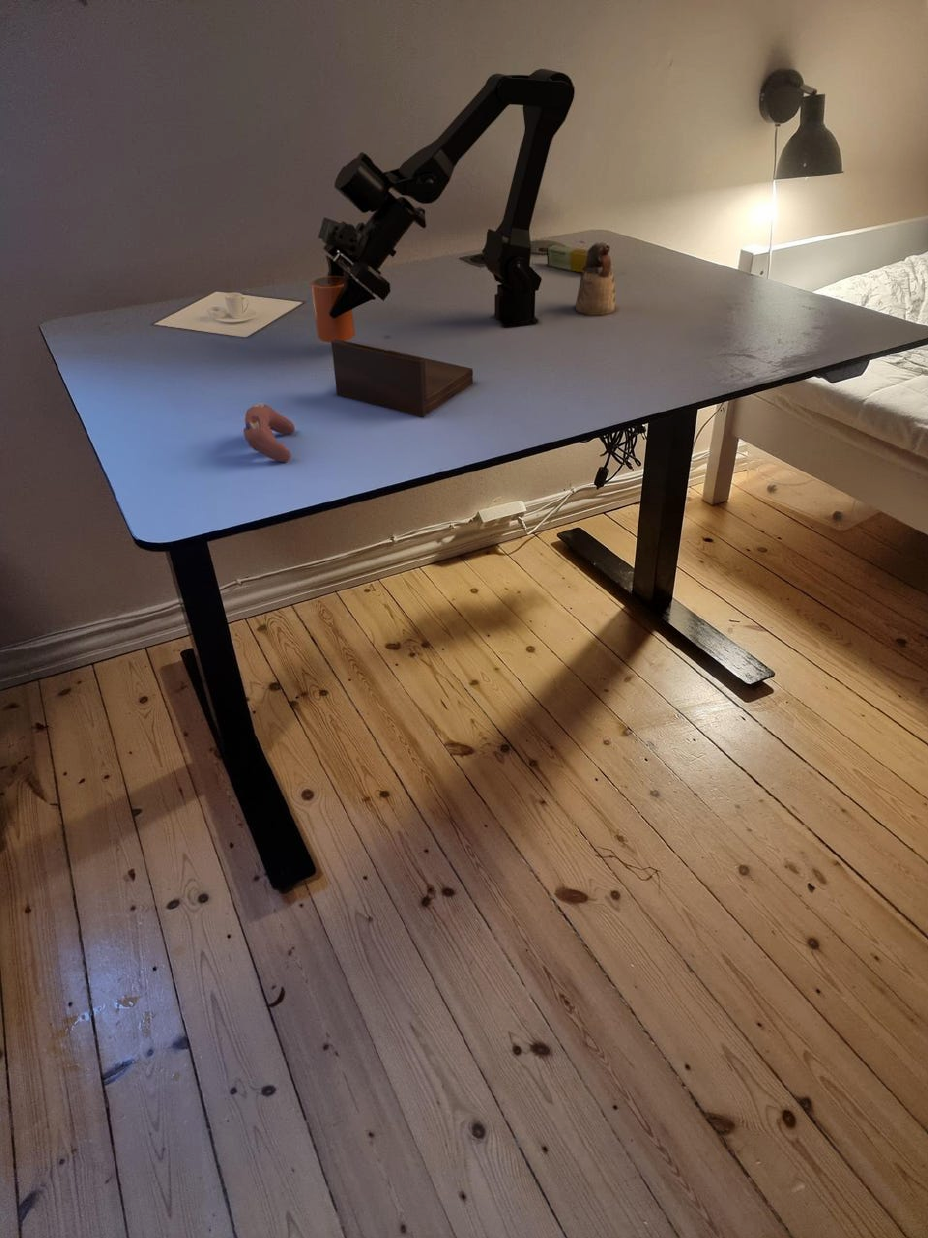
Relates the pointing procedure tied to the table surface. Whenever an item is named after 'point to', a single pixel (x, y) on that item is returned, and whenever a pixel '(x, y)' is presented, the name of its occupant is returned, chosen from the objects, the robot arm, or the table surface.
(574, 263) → the medication box
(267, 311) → the teacup and saucer
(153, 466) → the table surface
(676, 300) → the table surface
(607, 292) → the figurine
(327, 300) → the cup
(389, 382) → the dark brown wooden piece
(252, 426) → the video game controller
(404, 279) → the table surface
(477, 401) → the table surface
